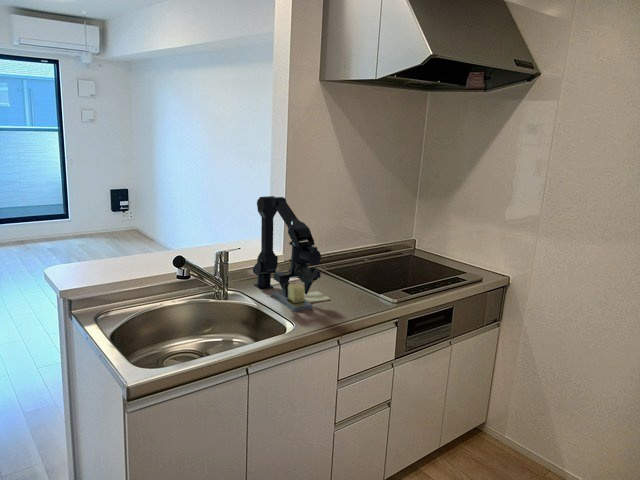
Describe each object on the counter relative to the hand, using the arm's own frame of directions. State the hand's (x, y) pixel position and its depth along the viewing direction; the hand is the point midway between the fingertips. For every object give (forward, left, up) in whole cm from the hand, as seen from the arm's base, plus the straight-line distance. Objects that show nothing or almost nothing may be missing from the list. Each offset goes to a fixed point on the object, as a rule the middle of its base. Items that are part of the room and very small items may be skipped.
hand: (296, 295), depth 195 cm
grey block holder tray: (-3, 0, -4) cm, 5 cm away
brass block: (0, 0, -4) cm, 4 cm away
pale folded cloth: (-4, +11, -4) cm, 12 cm away
